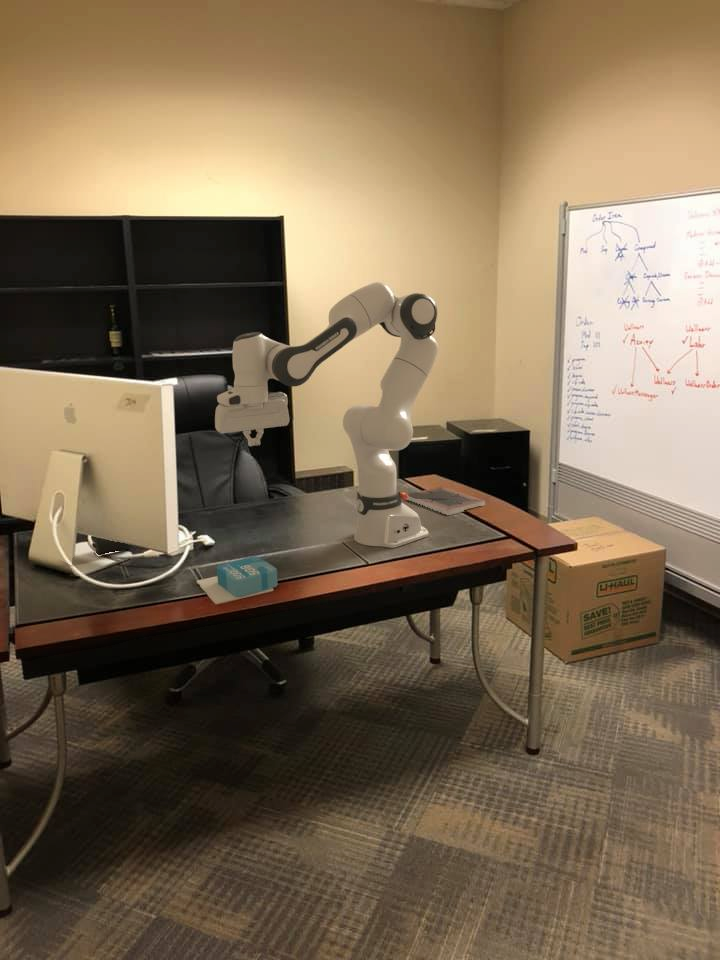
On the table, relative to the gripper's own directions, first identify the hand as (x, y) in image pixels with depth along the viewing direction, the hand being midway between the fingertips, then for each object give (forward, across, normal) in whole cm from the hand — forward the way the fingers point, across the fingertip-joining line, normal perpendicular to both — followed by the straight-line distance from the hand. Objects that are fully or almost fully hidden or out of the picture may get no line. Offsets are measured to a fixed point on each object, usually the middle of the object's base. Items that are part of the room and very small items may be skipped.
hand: (254, 445), depth 201 cm
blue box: (+28, +5, +19) cm, 35 cm away
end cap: (+32, +36, -22) cm, 53 cm away
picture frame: (+32, -71, -9) cm, 78 cm away
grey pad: (+31, +14, +18) cm, 39 cm away
